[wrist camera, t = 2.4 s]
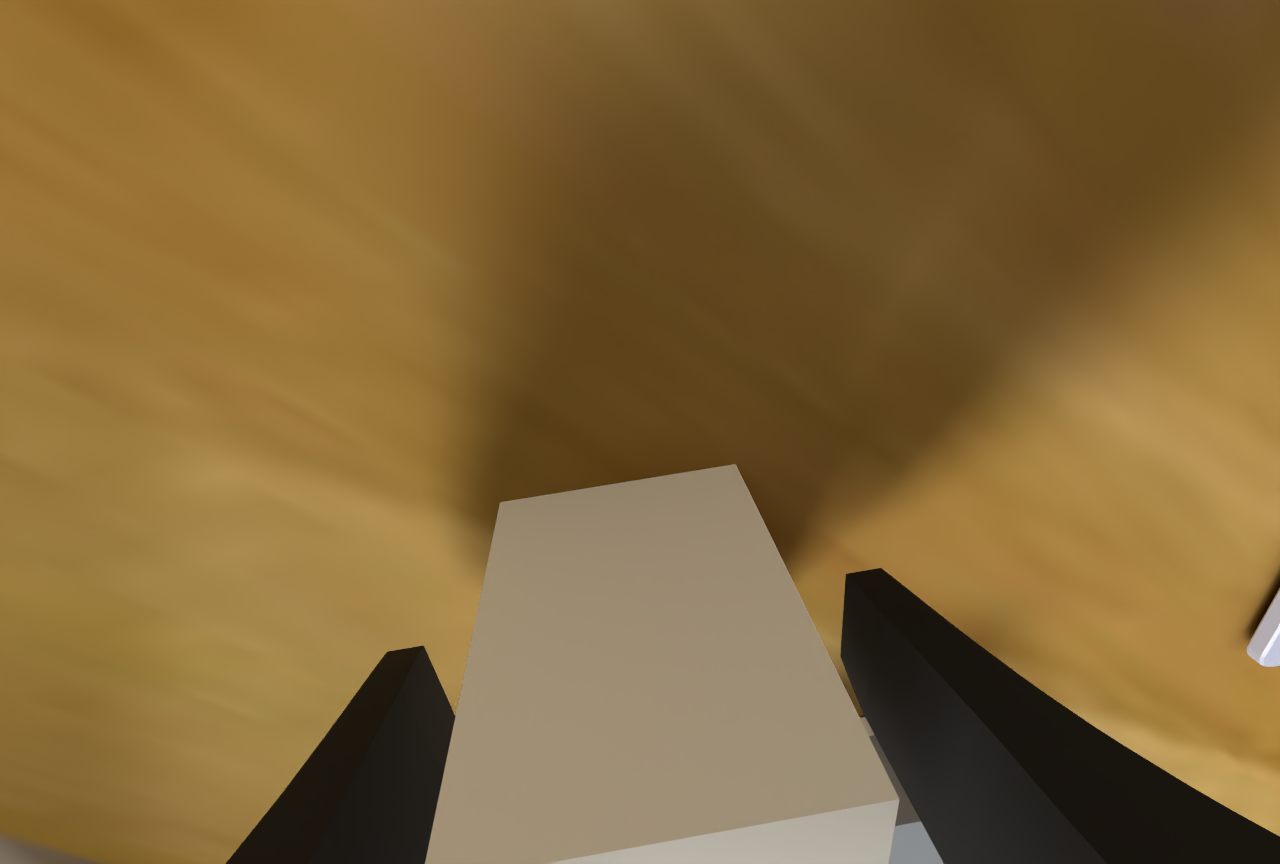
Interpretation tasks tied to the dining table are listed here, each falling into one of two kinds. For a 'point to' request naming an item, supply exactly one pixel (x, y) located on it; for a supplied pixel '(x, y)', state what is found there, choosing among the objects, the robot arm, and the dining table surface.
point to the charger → (653, 694)
